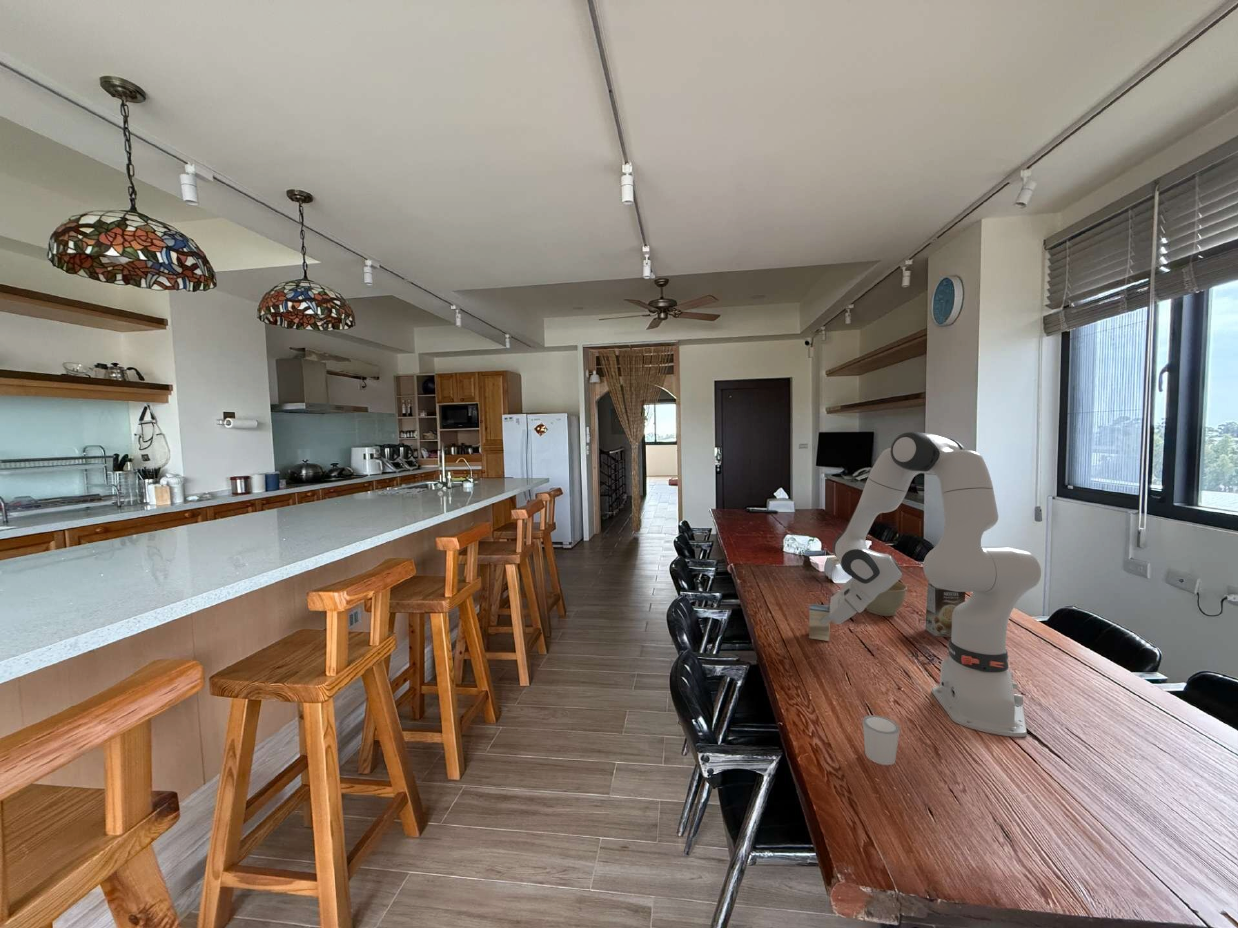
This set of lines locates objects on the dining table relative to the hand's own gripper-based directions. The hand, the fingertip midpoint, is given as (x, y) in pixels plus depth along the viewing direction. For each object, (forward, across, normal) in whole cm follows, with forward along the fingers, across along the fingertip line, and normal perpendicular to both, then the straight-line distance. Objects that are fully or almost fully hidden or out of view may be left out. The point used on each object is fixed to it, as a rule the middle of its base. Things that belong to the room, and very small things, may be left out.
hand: (822, 619), depth 163 cm
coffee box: (-22, -20, +31) cm, 43 cm away
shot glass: (-5, +60, +15) cm, 62 cm away
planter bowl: (-9, -34, +18) cm, 40 cm away
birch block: (+5, 0, +4) cm, 6 cm away
